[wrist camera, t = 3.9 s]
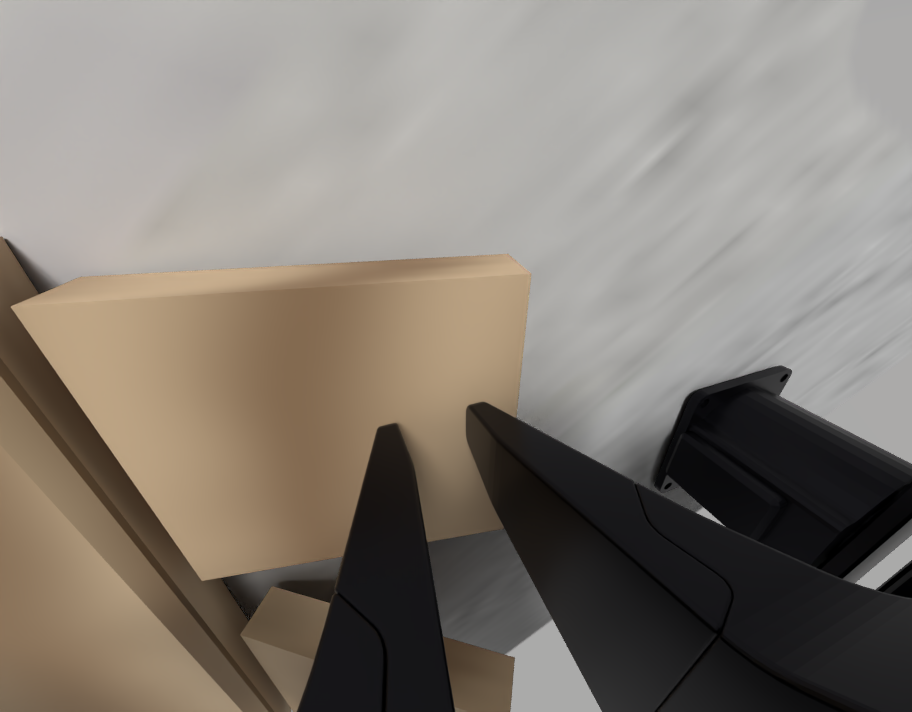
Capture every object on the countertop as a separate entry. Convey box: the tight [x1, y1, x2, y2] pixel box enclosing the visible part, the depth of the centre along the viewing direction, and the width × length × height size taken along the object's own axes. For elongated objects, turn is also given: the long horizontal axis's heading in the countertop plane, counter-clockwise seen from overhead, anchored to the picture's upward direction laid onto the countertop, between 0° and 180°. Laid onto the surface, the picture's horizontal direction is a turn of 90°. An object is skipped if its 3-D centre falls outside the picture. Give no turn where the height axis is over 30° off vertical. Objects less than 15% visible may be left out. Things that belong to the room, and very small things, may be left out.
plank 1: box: [11, 254, 531, 581], centre depth 8 cm, size 8×8×1 cm
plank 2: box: [240, 586, 515, 712], centre depth 12 cm, size 8×8×1 cm
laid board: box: [0, 237, 291, 712], centre depth 9 cm, size 5×20×2 cm, turn 0°
